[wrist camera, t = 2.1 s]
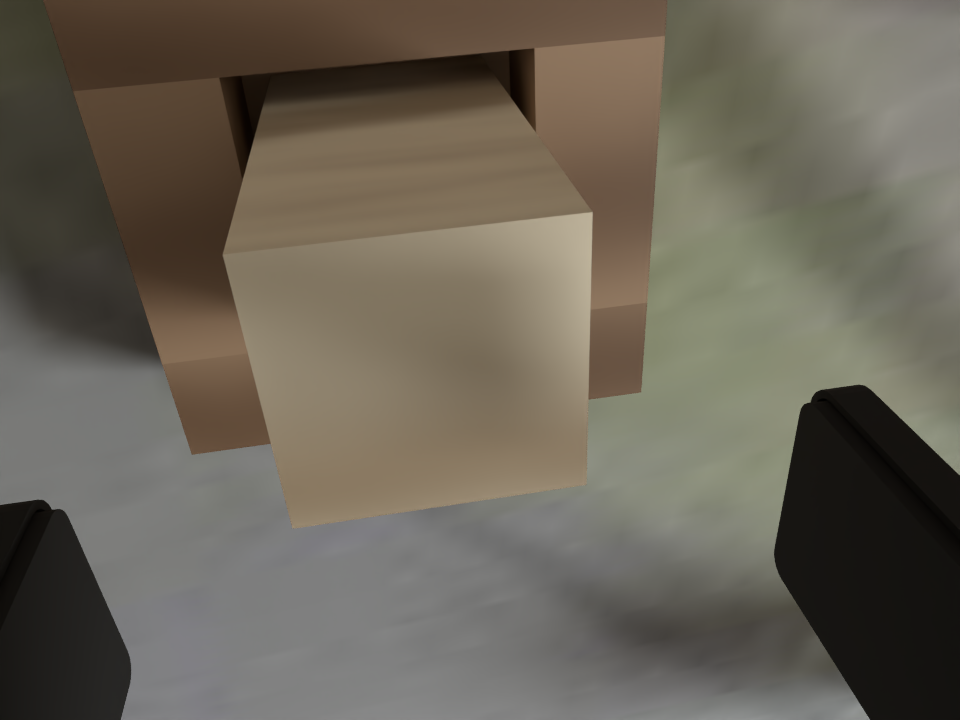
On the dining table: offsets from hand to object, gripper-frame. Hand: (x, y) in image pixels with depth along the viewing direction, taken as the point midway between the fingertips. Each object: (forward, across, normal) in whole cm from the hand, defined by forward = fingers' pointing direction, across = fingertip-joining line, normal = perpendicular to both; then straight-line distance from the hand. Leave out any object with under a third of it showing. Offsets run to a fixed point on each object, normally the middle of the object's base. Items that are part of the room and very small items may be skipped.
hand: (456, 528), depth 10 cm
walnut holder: (+14, 0, -1) cm, 14 cm away
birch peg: (+12, 0, -1) cm, 13 cm away
